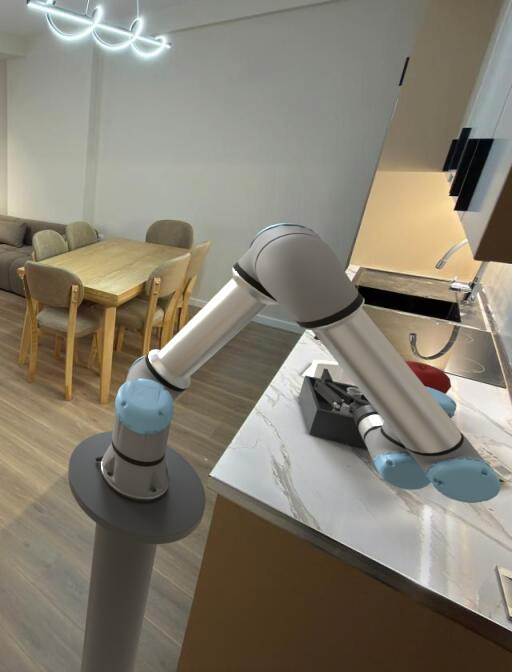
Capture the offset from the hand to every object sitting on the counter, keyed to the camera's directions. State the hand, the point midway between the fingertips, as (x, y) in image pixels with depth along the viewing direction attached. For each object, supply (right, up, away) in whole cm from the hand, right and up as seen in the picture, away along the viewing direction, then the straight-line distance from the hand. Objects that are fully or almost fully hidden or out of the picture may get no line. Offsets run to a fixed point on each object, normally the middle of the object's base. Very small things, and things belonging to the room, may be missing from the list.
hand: (353, 378), depth 105 cm
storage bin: (-2, -13, +1) cm, 13 cm away
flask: (-2, -12, +1) cm, 12 cm away
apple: (+25, -10, +9) cm, 28 cm away
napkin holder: (+13, -5, +21) cm, 25 cm away
